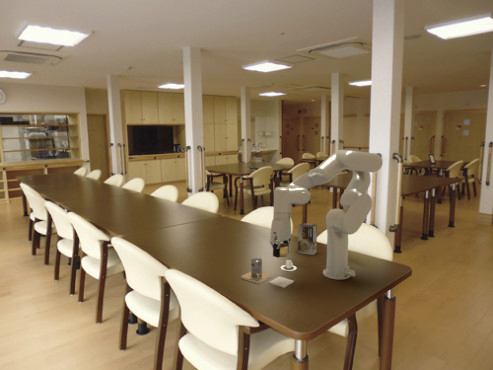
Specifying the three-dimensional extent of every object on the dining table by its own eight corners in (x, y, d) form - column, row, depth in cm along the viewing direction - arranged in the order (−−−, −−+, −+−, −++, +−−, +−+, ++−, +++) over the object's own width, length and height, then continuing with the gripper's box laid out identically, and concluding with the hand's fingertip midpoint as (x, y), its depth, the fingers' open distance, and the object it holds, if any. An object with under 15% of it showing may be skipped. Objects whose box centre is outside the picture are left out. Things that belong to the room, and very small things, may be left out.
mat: (293, 282, 159) (293, 280, 158) (283, 287, 152) (283, 286, 152) (279, 277, 164) (279, 276, 164) (269, 283, 158) (269, 281, 158)
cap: (284, 251, 160) (284, 241, 159) (290, 256, 154) (290, 245, 154) (271, 253, 158) (271, 242, 157) (277, 257, 152) (277, 246, 151)
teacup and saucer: (287, 264, 182) (287, 256, 181) (300, 267, 177) (300, 259, 176) (277, 269, 175) (277, 261, 174) (291, 273, 170) (291, 264, 169)
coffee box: (316, 252, 199) (317, 224, 196) (312, 255, 193) (313, 227, 191) (301, 249, 203) (302, 222, 201) (297, 252, 198) (297, 225, 196)
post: (271, 277, 164) (271, 259, 163) (258, 284, 156) (258, 265, 155) (254, 271, 170) (254, 255, 169) (241, 278, 163) (241, 260, 162)
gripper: (285, 211, 163) (284, 248, 165) (263, 217, 150) (262, 257, 152) (299, 213, 158) (298, 252, 160) (277, 220, 145) (276, 261, 147)
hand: (280, 254), depth 156 cm, fingers closed on cap, 6 cm apart
